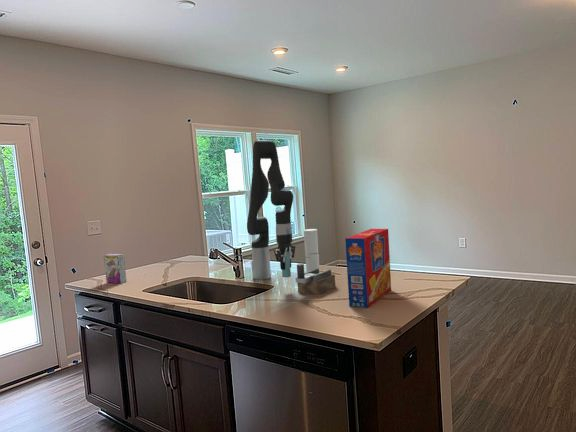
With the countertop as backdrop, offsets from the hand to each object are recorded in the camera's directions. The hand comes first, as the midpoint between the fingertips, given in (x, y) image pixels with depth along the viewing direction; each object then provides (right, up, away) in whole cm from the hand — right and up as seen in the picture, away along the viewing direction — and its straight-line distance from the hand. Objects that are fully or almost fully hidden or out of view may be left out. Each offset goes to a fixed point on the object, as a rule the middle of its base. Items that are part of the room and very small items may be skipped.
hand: (286, 268), depth 210 cm
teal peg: (0, -4, 0) cm, 4 cm away
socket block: (+15, -10, 0) cm, 18 cm away
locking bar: (+9, -5, -7) cm, 12 cm away
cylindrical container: (+15, -8, +28) cm, 32 cm away
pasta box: (+37, -10, -20) cm, 43 cm away
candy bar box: (-98, -14, +46) cm, 109 cm away
